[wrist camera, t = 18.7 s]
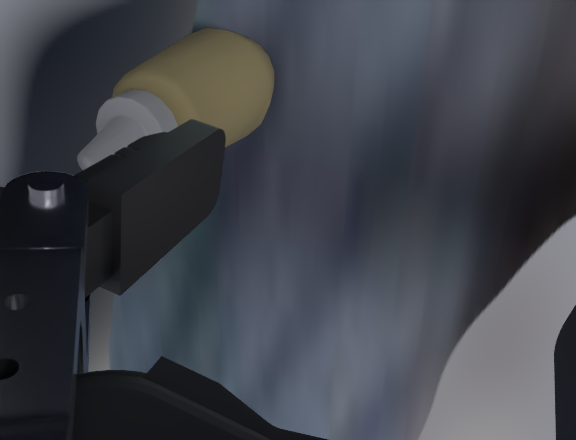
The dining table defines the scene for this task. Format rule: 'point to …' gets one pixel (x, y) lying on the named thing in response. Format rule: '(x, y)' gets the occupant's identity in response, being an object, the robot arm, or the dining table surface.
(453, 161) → the dining table surface
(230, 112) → the squeeze bottle
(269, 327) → the dining table surface
